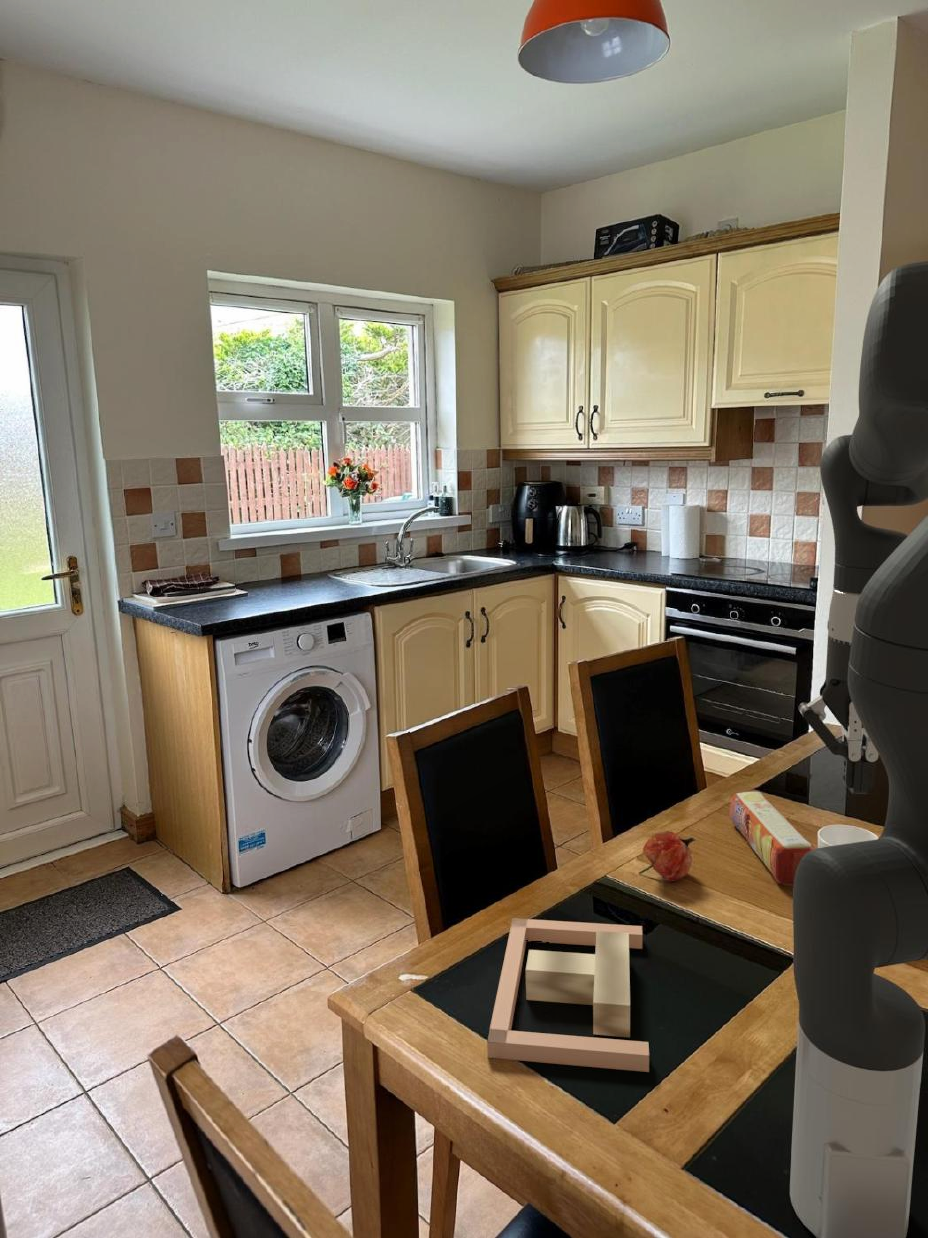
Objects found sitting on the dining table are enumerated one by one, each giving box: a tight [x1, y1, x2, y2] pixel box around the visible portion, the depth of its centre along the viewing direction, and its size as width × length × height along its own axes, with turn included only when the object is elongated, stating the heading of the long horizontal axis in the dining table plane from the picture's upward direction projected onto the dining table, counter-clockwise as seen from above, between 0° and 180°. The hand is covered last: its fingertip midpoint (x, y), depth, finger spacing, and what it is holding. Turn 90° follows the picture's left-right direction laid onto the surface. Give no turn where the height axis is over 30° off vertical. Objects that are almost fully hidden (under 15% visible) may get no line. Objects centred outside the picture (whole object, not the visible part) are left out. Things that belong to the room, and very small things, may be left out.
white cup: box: [817, 824, 880, 848], centre depth 118 cm, size 8×8×10 cm
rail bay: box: [486, 917, 650, 1073], centre depth 102 cm, size 24×17×2 cm
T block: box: [525, 931, 631, 1038], centre depth 102 cm, size 12×14×4 cm
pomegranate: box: [638, 830, 696, 883], centre depth 127 cm, size 7×7×10 cm
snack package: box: [729, 790, 816, 886], centre depth 133 cm, size 21×7×7 cm, turn 1°
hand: (857, 790), depth 91 cm, fingers closed
